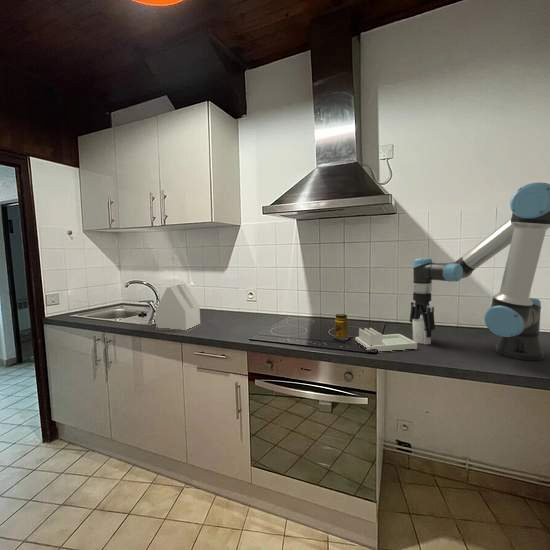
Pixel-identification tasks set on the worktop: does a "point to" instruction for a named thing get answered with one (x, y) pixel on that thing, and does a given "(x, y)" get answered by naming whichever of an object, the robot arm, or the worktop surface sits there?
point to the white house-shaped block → (177, 309)
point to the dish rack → (384, 341)
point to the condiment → (341, 326)
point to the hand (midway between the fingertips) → (421, 341)
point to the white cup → (418, 330)
